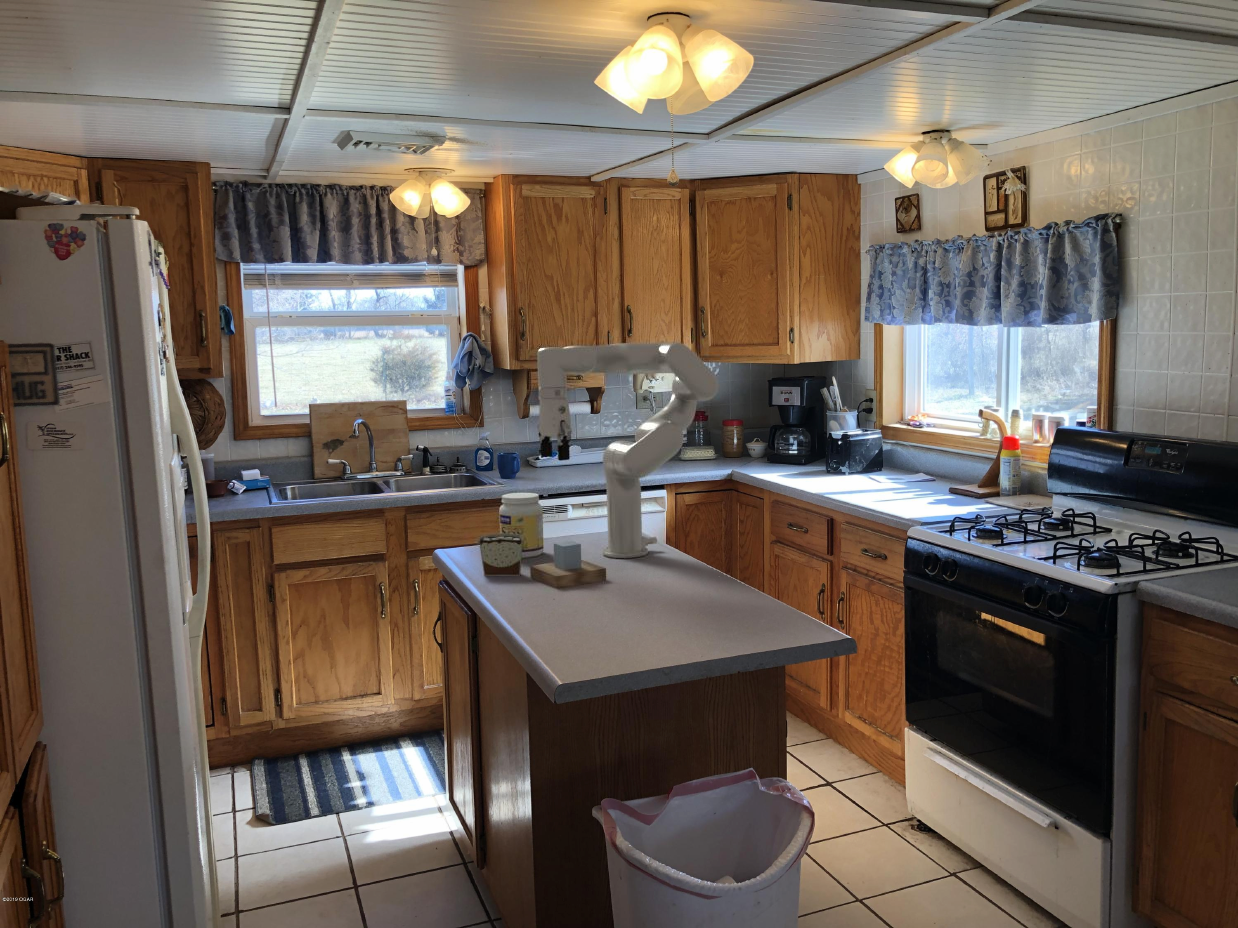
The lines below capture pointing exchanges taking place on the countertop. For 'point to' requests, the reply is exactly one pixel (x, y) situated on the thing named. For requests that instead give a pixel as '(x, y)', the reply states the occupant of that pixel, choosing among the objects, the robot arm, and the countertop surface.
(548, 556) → the countertop surface
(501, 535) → the food container
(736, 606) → the countertop surface
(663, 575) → the countertop surface
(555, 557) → the slate block
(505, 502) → the supplement tub
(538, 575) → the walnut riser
